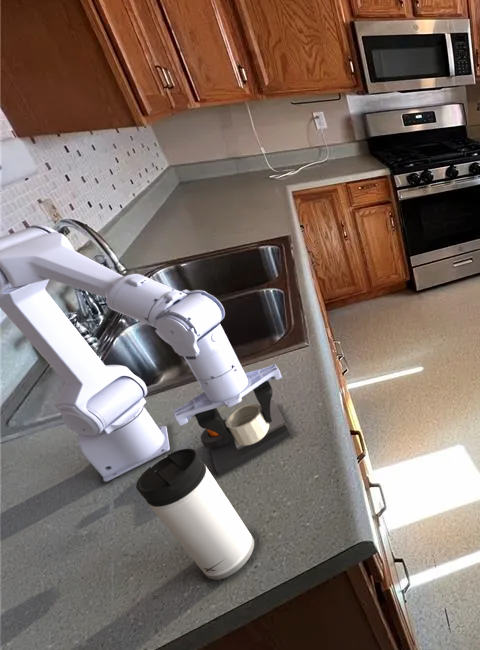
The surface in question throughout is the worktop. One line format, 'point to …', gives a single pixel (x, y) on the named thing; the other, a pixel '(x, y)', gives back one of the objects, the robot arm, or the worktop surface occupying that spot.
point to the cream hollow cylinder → (247, 424)
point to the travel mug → (197, 513)
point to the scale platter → (276, 420)
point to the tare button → (212, 433)
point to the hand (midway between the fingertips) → (250, 428)
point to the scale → (230, 456)
